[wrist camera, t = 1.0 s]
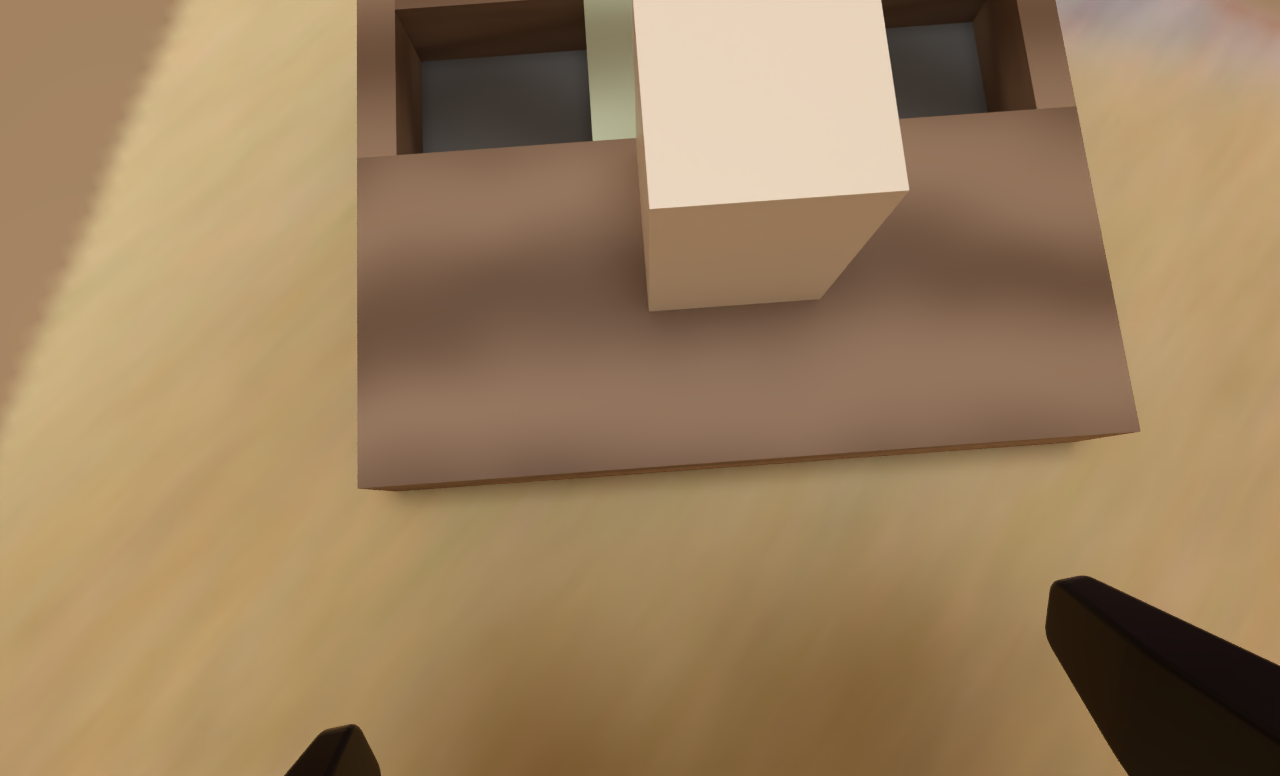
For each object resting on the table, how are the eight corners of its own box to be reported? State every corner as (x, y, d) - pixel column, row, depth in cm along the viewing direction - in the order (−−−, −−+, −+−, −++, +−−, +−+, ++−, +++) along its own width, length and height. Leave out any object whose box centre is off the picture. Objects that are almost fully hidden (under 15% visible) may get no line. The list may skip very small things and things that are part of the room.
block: (819, 299, 20) (909, 190, 13) (648, 311, 20) (649, 209, 13) (800, 141, 21) (875, -38, 14) (636, 153, 21) (631, -21, 14)
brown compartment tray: (1075, 441, 22) (1140, 431, 19) (396, 491, 22) (357, 488, 19) (996, 3, 25) (1042, -65, 22) (391, 46, 25) (357, -16, 22)
